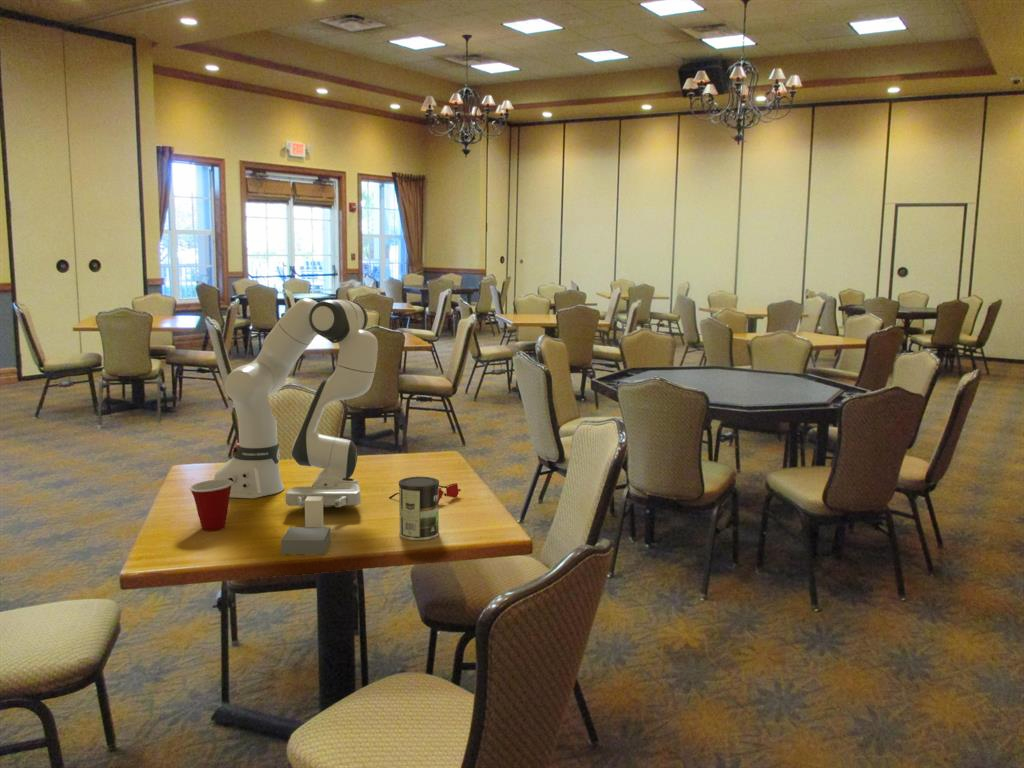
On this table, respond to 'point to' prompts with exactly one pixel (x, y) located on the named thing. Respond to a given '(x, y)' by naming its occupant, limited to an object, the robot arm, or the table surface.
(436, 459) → the table surface
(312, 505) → the cream block
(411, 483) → the coffee can
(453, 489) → the glasses
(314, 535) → the gray square block
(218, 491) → the plastic cup
